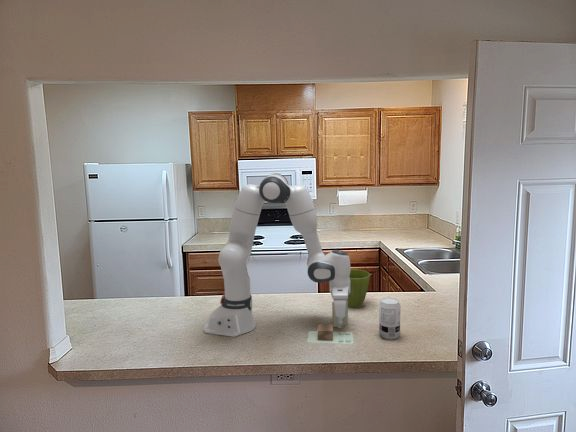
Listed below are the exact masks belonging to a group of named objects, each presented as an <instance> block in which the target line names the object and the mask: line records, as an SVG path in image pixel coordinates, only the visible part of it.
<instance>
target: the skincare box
mask: <svg viewBox="0 0 576 432" xmlns="http://www.w3.org/2000/svg"><path fill="white" fill-rule="evenodd" d="M331 303H332V304H331V306H332V310H331V311H332V313H331V315H332V318H331V319H332V324H331V325H333V327H335V328H338V329H341V328H343V327H345V326H347V325H348V324H349V306H348V300H347V302H346V312H345V317H344V318H343V319H342V324H338V317H336V315H335V307H334V301H332V302H331Z"/></svg>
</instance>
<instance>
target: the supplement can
mask: <svg viewBox="0 0 576 432" xmlns="http://www.w3.org/2000/svg"><path fill="white" fill-rule="evenodd" d="M378 321H379V324H378V327H379V329H378V330H379V331H378V333H379V336H380V337H381V338H383V339H386V340H390V339H391V340H396V339H398V338H399V337H400V335H401V303H400V301H399V299H397V298H393V297H383V298H381V299H380V302H379V320H378Z"/></svg>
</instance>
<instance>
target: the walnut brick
mask: <svg viewBox="0 0 576 432" xmlns="http://www.w3.org/2000/svg"><path fill="white" fill-rule="evenodd" d="M317 331H318V340H325V341H333V332H334V326H333V325H332V324H321V323H320V324H318V325H317Z"/></svg>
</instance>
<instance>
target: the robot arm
mask: <svg viewBox="0 0 576 432" xmlns="http://www.w3.org/2000/svg"><path fill="white" fill-rule="evenodd" d="M265 202H266V203H269V204H285V207H286V209H287V213H288V216H289V219H290V222H291V224H292V227H293V228H294V230H295V231H296V232H297V233H299V234H300V235H301V236H302V239H303V241H304V245H305V247H306V250H307V261H306V262H307V263H306V265H307V277H308V278H309V280H310V281H312V282H315V283H318V284H319V283H327V282H328V283H329V293H330V294H331V299H333V302H334V307H335V315H336V317H338V324H342V319H343V318H344V317H345V312H346V302H347V299H348V296H349V293H350V292H351V291H350V270H351V258H350V256H349V254H348V253H347V252H346V251H343V250H339V249H333V250H331V251H330V252H328V253H327V254H326V253H325V252H324V251H323V249H322V246H321V243H320V239H319V235H318V230H317V229H318V216H317V212H316V208H315V204H314V202H313V198H312V196H311V194H310V192H309V190H308V188H307V187H306V185H302V184H294V185H289V182H288V180H287V178H286V177H285V176H284V175H282V174H281V173H271V174H268V175H267V176H265V177H264V178H263V179H262V180H261V182H260V183H259V184H253V183H252V184H251V183H249V184H245V185H243V186H242V187H241V190H240V191H239V194H238V196H237V198H236V201H235V204H234V208H233V212H232V216H231V218H230V223H229V234H228V240H227V242H226V244H225V245H224V246H223V247H222V248H221V249H220V251H219V253H218V257H217V259H218V260H217V261H218V265H219V266H220V268H221V269H220V270H221V273H222V278H223V283H224V294H223V295H222V296H221V298H220V302H219V304H220V305H219V306H217V308H215V309H214V310H213V311H212V312H211V313H210V315H209V320H208V321H207V322H206V323H205V324H204V326H203V332H204V333H205V334H210V335H218V336H225V337H226V336H227V337H233V338H235V337H238V336H240V335H243V334H247V333H250V332H251V331H254V329H256V327H257V325H256V322H255V318H254V315H253V309H252V308H253V298H252V293H251V278H250V276H249V272H248V267H247V264H248V263H247V261H248V258H250V257H251V254H252V250H253V247H254V246H253V245H254V240H255V235H256V230H257V226H258V223H259V219H260V215H261V212H262V208H263V205H264V204H265Z"/></svg>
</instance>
